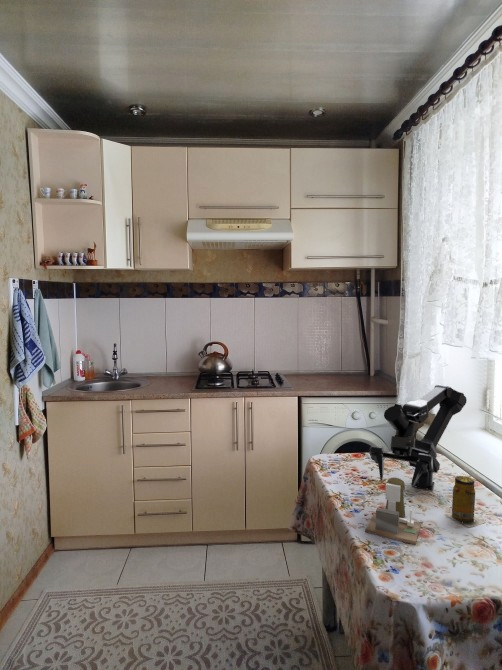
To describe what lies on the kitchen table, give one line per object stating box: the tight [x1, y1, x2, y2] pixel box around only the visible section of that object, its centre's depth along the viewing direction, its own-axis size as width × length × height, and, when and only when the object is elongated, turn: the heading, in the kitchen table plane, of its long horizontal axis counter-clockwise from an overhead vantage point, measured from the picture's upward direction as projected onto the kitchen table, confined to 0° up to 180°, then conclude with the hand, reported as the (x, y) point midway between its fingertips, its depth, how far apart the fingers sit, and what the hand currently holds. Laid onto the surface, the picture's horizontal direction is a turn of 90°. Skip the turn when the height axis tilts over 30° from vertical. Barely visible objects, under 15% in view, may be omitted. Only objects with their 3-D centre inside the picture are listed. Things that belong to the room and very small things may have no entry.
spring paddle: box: [384, 482, 415, 523], centre depth 131 cm, size 2×8×10 cm, turn 62°
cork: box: [384, 477, 406, 519], centre depth 137 cm, size 6×6×11 cm
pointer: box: [407, 509, 415, 527], centre depth 129 cm, size 1×2×5 cm, turn 62°
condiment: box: [444, 475, 486, 528], centre depth 134 cm, size 7×8×12 cm
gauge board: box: [364, 506, 422, 545], centre depth 129 cm, size 11×14×6 cm
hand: (396, 483), depth 138 cm, fingers open, 9 cm apart
